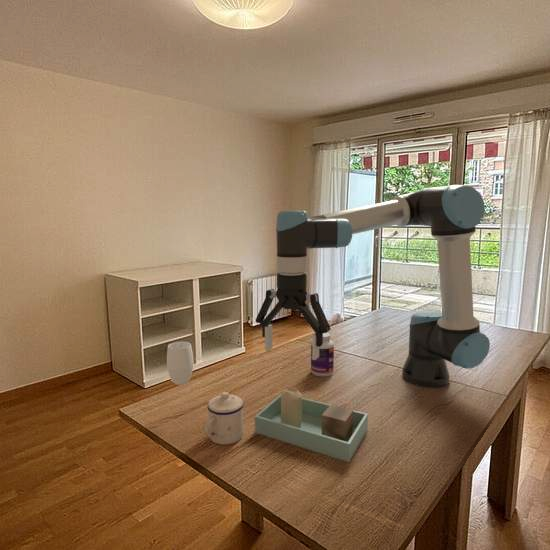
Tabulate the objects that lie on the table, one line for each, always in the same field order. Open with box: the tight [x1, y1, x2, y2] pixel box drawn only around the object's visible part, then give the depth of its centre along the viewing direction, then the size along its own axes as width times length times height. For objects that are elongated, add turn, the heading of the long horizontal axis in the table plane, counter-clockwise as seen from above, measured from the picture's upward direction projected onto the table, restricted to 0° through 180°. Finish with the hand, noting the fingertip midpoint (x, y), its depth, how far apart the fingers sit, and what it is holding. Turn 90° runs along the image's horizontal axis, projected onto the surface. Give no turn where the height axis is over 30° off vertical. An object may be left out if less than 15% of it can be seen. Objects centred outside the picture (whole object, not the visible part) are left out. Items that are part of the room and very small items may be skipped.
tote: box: [254, 393, 369, 463], centre depth 100 cm, size 25×15×5 cm, turn 61°
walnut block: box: [322, 404, 354, 442], centre depth 97 cm, size 6×6×7 cm
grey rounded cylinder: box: [166, 341, 195, 386], centre depth 109 cm, size 7×7×21 cm
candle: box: [280, 387, 303, 428], centre depth 103 cm, size 6×6×10 cm
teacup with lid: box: [203, 391, 244, 446], centre depth 98 cm, size 12×9×12 cm
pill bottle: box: [310, 332, 335, 378], centre depth 137 cm, size 8×8×14 cm
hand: (291, 353), depth 101 cm, fingers open, 13 cm apart
